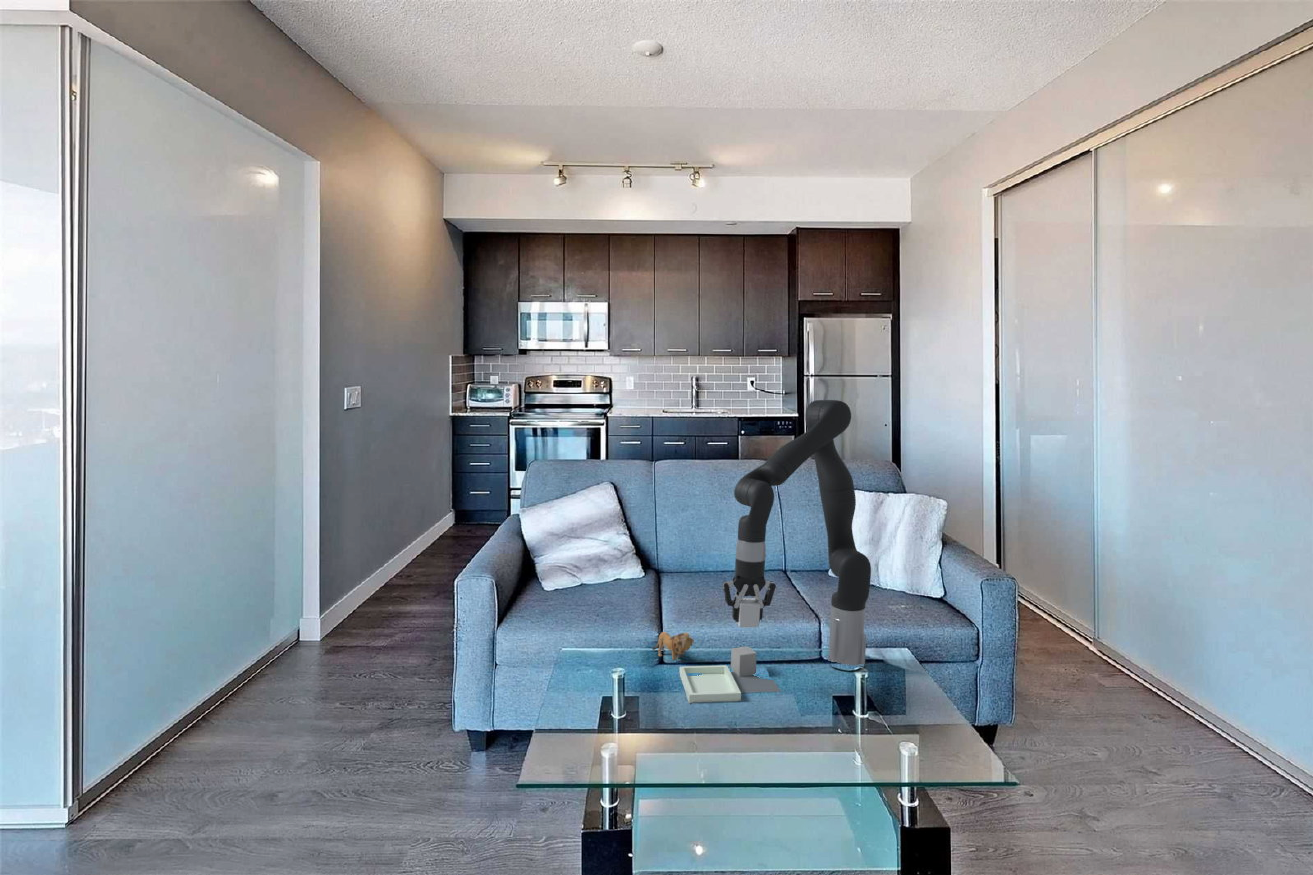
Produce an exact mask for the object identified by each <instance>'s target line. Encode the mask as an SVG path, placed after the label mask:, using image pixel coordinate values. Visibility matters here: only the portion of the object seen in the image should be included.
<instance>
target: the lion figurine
mask: <svg viewBox="0 0 1313 875" xmlns="http://www.w3.org/2000/svg"><path fill="white" fill-rule="evenodd" d="M694 641H695V639H693V638H691V636H690V633H689V632H682V633H679V634H677V635H673V636H671V635H670V634H669V633H668V632H665V631H661V632H660V634H659V637H658V641H657V644H656V646H654V647H652V648H651V650H652V651H655V650H657V649H658V657H663V654H662V652H661V651H664V652H665V651H666V650H665V649H664V648H666V649H667V650H668V651H671V659H672V660H676V661H677V658H678V659H679V658H680V659H681V655H683V654H685V652H687V651H689V650H690V648H691V647H692V646H693V644H694ZM672 660H671V661H672Z"/></svg>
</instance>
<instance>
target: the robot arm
mask: <svg viewBox="0 0 1313 875" xmlns="http://www.w3.org/2000/svg"><path fill="white" fill-rule="evenodd" d="M804 415H805V424H806V429H807V431H805V432H804V433H802V434H801V435H799V436H797V437H796V438H793V439H792V440H790V441H788V442H787V443H785V444H783V445H782V446H781V447H780V448H779V449H777V450H776V451H775V452H774V453H773V454H772V455H771V456H770V457H769V458H768V459H767V460H766V461H765V462H764V463H763V464H762V465H760V466H758V467H756V468H755V469H753V470H751V471H749V472H748V473H747V474H744V476H742V477H741V478H740V479H739V481H738V482H737V483H736V485H735V487H734V492H733V493H734V494H733V496H734V499H735V500H736V501H737V503H739V504H741V505H743V506H747V507H750V511H749V513H748V514H746V515H743V516H740V518H739V520H738V526H737V527H738V530H737V542H736V546H735V560H734V563H735V565H734V566H735V568H734V576H733V579H732V580H729V581H726V580H723V581H722V583H721V585H722V589H723V595H724V600H725V603H726V604H727V606H728V607H732V611H731V613H732V614H731V615H732V616H731V618H732V619H733V620H734V622H735V623H737V622H739V605H740V603H741V601H742V599H743V598H745V597H749V596H750V597H754V598H755V600H757V602H758V603H759V604H760V617H759V623H760V621H761V620H762V619H763V614H764V608H765V607H768V606H769V607H770V606H771V603H772V600H773V598H774V594H775V590H776V588H777V585H776V584H775V582H774V581H773V580H770V581H768V580H766V578H765V568H766V557H767V548H766V536H767V534H766V533H767V523H768V520H769V519H770V514H771V511H772V509H773V506H774V501H775V493H774V489H773V487H775V486H776V487H777V486H781V485H782V484H783V483H786V481H787V480H788V479H789V478H790V477H791V476H792V475H793V474H794V473H795V472H796V471H797V470H798V469H799V468H800V467H801V466H802V465H803V464H804V463H806V462H807V460H808V459H809V458H811V457H812V456H813V458H814V463H815V469H816V474H817V480H818V490H819V495H820V501H821V505H822V511H823V518H824V523H825V527H826V528H825V529H826V535H827V549H828V550H827V551H828V553H827V554H828V565H829V568H830V570H831V573H832V574H833V575H834V576H835V577H837V579H838V582H837V591H836V592H834V593H832V595H831V599H830V600H831V601H830V617H829V618H830V619H829V621H830V622H829V623H830V624H829V642H828V655H827V656H828V657H827V658H828V660H827V661H831V662H837V663H841V664H847V665H848V664H849V665H858V664H865V665H866V650H867V648H866V647H867V634H865V617H866V603H867V601H868V599H869V595H870V587H871V578H872V567H871V561H870V559H869V558H868V557H867V556H866V555H865V554H864V553H862V552H861V551H858V550H857V547H856V544H855V539H854V534H853V520H854V516H855V511H856V505H857V504H856V503H857V500H856V493H855V492H856V491H855V485H854V479H853V477H852V474H851V473H850V472H851V471H849V468H848V467H847V465H846V464H845V462H844V461H843V459H842V458H841V456H840V454H839V452H838V451H837V448H836V446H835V441H834V440H835V438H837V437H839V436H840V435H842V434H843V433H844V432H845V431H846V430H847V429H848V427H849V425H850V424H851V420H852V412H851V409H850V407H849V405H848V404H847V403H846V402H844V401H842V400H837V399H836V400H835V399H819V400H818V399H817V400H813V401H811V402H810V403H809V404H808V405H807V407H806V411H805V414H804ZM733 586H734V587H735V589H736V591H735V593H734V597H733V599H732V596H731V590H732V588H733ZM763 588H765V589H766V592H765V594H764V598H763V599H762V595H761V590H762V589H763Z"/></svg>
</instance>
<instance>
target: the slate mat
mask: <svg viewBox="0 0 1313 875" xmlns="http://www.w3.org/2000/svg"><path fill="white" fill-rule="evenodd" d="M731 674H732V676H733V678H734V680H735V682H736V684H737V686H738V688H739V690H740V692H741V694H748V693H749V694H751V693H752V694H753V693H756V694H757V693H780V692H782V691H781V689H780V688H779V686H778V684H777V683H776V681H775V680H774V679H773V680H770V679H769V680H768V679H760V678H761V677H760V678H759V677H757V676H754V675H748V676H742V677H739V676H738V675H736V674H735V673H734V672H731ZM762 678H763V677H762Z"/></svg>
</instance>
